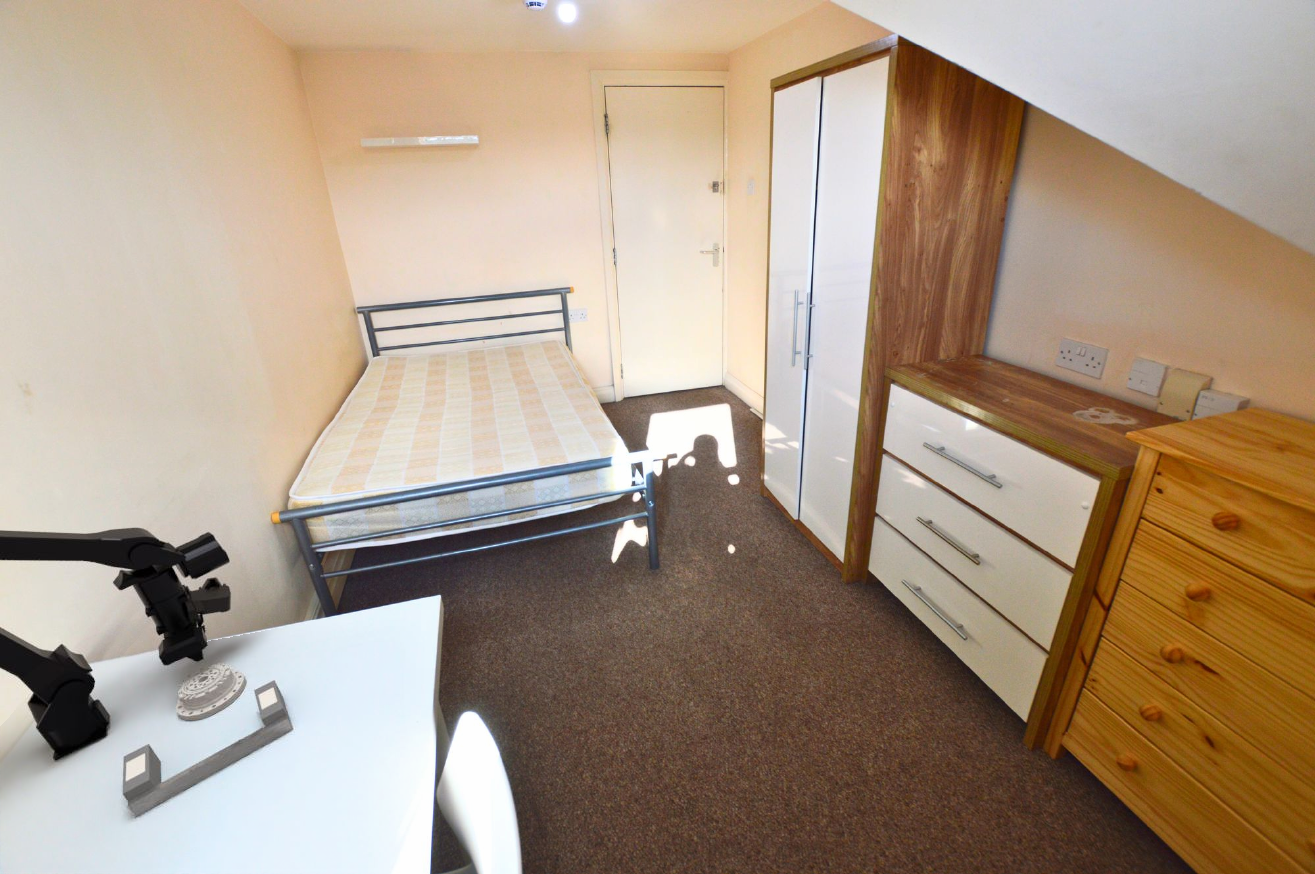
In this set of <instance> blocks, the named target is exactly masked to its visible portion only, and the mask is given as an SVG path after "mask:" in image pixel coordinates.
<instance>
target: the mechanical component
mask: <svg viewBox="0 0 1315 874" xmlns="http://www.w3.org/2000/svg"><path fill="white" fill-rule="evenodd" d="M246 684H247V680H246V677H245V674H244V673H243V672H242V671H241V670H239V669H235V668H234V669H231V668H230V667H229V666H228V664H226V663H221V662H218V663H217V664H216V663H213V664H211V665H210V666H208V667H205V668H203V667H202V668H200V669H199V671H197V672H195V673H193V674H191V675H190V674H189V675H188V677H187V678H185V679H184V680H183V682H182V683H181V684H179V689H178V690H177V695H178V697H179V698H178V700H177V703H176V704H175V711H176V714H177V715H178V716H179V718H181V720H185V721H198V720H203V719H206V718H208V717H210V716H213V715H215V714H217V713H219V712H221V711H222V710H224V709H225V708H227V707H228V706H229V705H231V704H233V703H234V701H235V700H236V699H237V698H239V696H240V695H241V694H242V693H243V691H244V689H245V687H246V686H247V685H246Z"/></svg>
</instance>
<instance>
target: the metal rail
mask: <svg viewBox="0 0 1315 874" xmlns="http://www.w3.org/2000/svg"><path fill="white" fill-rule="evenodd" d="M290 721H291V720H290ZM290 721H289V719H288V717H287V715H285V716H283V717H281V718H279V719H277V720H276V721H274V722H272V723H270V724H268V725H266V726H265V725H264V726H263V727H261V728H259V729H258V730H256V731H254V732H252V733H250V734H248V735H246V736H244V737H242V738H241V739H239V740H237V741H235V742H234V743H231V744H230V745H228V746H226V747H225V748H222V749H220V750H219V751H217V752H215V753H213V754H211V755H210V756H208V757H205V758H204V759H203V760H201V761H198V762H197V763H195V764H193V765H191V766H190V767H188V768H186V769H184V770H182V771H180V772H178V773H176V774H175V775H173V776H171V777H169V778H167V779H165V780H163V781H161V783H160V784H158V785H156V786H154V787H152V788H151V789H149V790H147V791H145V792H143V793H141V794H140V795H138V796H136V797H134V798H132V799H130V800H129V801H127V808H128V809H129V810H130V811H131V813H132V814H133V816H134V817H135V818H137V817H139V816H141V815H143V814H145V813H146V812H148V811H150V810H151V809H153V808H155V807H157V806H159V805H160V804H163V803H165V802H166V801H168V800H169V799H171V798H173V797H174V796H176V795H177V796H178V794H180V793H183V792H184V791H186V790H187V789H189V788H191V787H193V786H194V785H197V784H198V783H200V782H201V781H203V780H205V779H207V778H209V777H211V776H212V775H214V774H216V773H218V772H220V771H221V770H223V769H225V768H226V767H228V766H230V765H232V764H234V763H236V762H237V761H240V759H243V758H245V757H247V756H248V755H249V754H251V753H254V752H255V751H257V750H259V749H261V748H262V747H265V746H266V745H268V744H269V743H272V742H273V741H275V740H277V739H278V738H280V737H281V736H282V737H283V736H284V735H285V734H287V733H289V732H290V731H293V730H294V729H293V725H292V722H291V723H290Z"/></svg>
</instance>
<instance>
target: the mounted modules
mask: <svg viewBox="0 0 1315 874" xmlns="http://www.w3.org/2000/svg"><path fill="white" fill-rule="evenodd" d="M253 691H254V692H253V693H254V694H255V695H254V696H255V699H256V703H257V707H258V711H259V715H260V719H261V721H262V723H263V725H264V727H265V726H266V725H268V724H270V723H272V722H274V721H276V720H277V719H279V718H281V717H283V716H285V715H287V717H288V719H289V721H290V723H291V724H292V721H291V719H290V716H289V712H288V709H287V706H286V702H285V699H284V696H283V694H282V692H281V690H280V688H279V686H278V684H277V683H276V680H275V679H273V680H272V681H269V682H268V683H266V684H264V685H261V686H260V687H258V688H256V689H254V690H253ZM122 762H123V768H122V795H123V797H124V799H126V801H127V802H128V801H129V800H130V799H132V798H134V797H136V796H138V795H140V794H141V793H143V792H145V791H147V790H149V789H151V788H152V787H154V786H156V785H158V784H160V783H162V768H161V767H162V765H161V760H160V759H159V757H158V755H157V754H156V752H155V751H154V749H153V748H152V747H151V745H150V744H149V743H147V744H145V745H144V746H142V747H140V748H138V749H135V750H133V751H132V752H129V753H128V754H126V755H124V756H123V761H122Z"/></svg>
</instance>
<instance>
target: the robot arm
mask: <svg viewBox="0 0 1315 874" xmlns="http://www.w3.org/2000/svg"><path fill="white" fill-rule="evenodd" d="M228 555H229V554H227V552H226V550H225V549H224V548H223V547H222V545H221V544H220V543H219V541H218V540H217V539H216V537H215V535H214V534H213V533H212V532H210V531H209V532H208V531H207V532H205V533H203V534H201V535H199V536H198V537H196V538H195V539H192V540H190V541H187V542H185V543H183V544H181V545H178V546H176V547H175V546H174V545H172V544H171V543H170V542H166V541H163V540H159V538H157V537H156V536H155V535H154V534H152V532H150V531H149V530H147V529H145V528H141V527H126V528H125V527H124V528H114V529H107V530H104V531H103V530H102V531H98V532H91V533H90V532H89V533H87V532H86V533H80V532H79V533H78V532H75V533H73V532H53V531H51V532H50V531H30V530H29V531H28V530H27V531H23V530H4V529H3V530H1V529H0V561H23V562H25V561H30V562H32V561H33V562H35V561H36V562H37V561H38V562H39V561H42V562H43V561H46V562H86V563H87V562H89V563H95V564H100V565H103V566H107V567H111V568H119V569H120V570H119V572H118V575H117V576H116V577H115V578H114V580H113V582H112V584H113V585H114V586H115V587H116V588H117V589H118V590H119V591H123V590H127V589H129V587H133V589H134V590H135V593H136V594H137V595H138V598H139V599H140V601H141V602H142V604H143V606H144V610H145V611H144V614H145V615H146V616H147V618H150V617H151V619H152V621H153V623H154V624H155V631H156V633H157V635H158V636H162V635H163V639H162V641H161V642H160V644H159V645H158V658H159V659H160V662H161V663H162V665H163V666H170V665H172V664H174V663H176V662H178V661H180V660H183V659H185V658H187V659H189V660H192V661H193V662H195V663H199V662H201V661H203V660H204V657H205V656H204V652H203V650H205V649H207V647H208V646H209V644H208V638H207V636H206V627H205V624H204V622H205V620H204V615H210V614H215V613H227V612H229V611H230V610H231V604H232V603H231V600H232V599H231V597H232V593H231V589H230V586H229V585H227V584H226V583H221V581H220V580H219V578H217V577H208V578H206V580H205V581H204V583H203V584H202V586H199V587H198V589H195V590H190V588H189V586H188V585H185V584H183V583H182V582H181V580H180V578H179V576H178V574H177V573H176V571H175V569H174V567H176V570H177V571H178V572H179V573H180V575H181V576H182V577H183V578H185V579H187V578H188V577H190V579H191V580H197V579H199V578H201V577H203V576H205V575H207V574H209V573H211V572H213V571H215V570H217V569H219V568H222V567H223V566H225V565H228V564H229V563H230V557H229V556H228ZM0 669H1V670H3V671H5V672H6V673H9V674H11V675H13V676H15V677H16V678H18V679H19V680H20V681H21V682H22V683H23V684H24V685H25V686H26V687H27V688H28V689H29V690H30V691H31V692H32V695H31V696H30V698H29V700H28V702H27V706H28V709H29V711H30V712H31V715H32V718H33V719H34V722H35V723H36V725H35V729H36V730H37V732H38V733H40V735H41V737H42V738H43V739H44V740H45V741H46V742H47V744H48V745H49V747H50V748H51V749H52V750H53V754H52V755H53V756H52V759H53V760H54V761H58V760H60V759H62V758H65V757H66V756H69V755H71V754H73V753H76V752H77V751H79V750H81V749H83V748H86V747H87V746H89V745H91V744H93V743H94V744H95V742H99V741H100V740H102V739H104V738H106V737H107V735H108V727H109V725H110V717H111V714H109V712H108V710H107V709H106V707H105V706H104V705H103V704H102V702H101V701H100V699H99V698H98V699H94V698H93V697H92V696H91V694H92V692H93V690H94V688H95V684H96V680H95V677H94V676H93V674H92V673H91V672H93V668H92V667H91V665H90V663H88V661H87V659H86V658H85V656H84V655H83V654H81V653H76V652H72V651H71V650H70V649H69V648H68V647H67V646H65V645H64V644H63V643H61V644H59V645H58V646H57V647H56V648H55V649H54V650H48V649H42V648H40V647H38V646H35V645H34V644H32V643H30V642H29V641H26V640H24V639H23V638H21V637H19V636H17V635H15V634H13V633H12V632H10V631H8V630H6V629H5V628H3V627H0Z"/></svg>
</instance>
